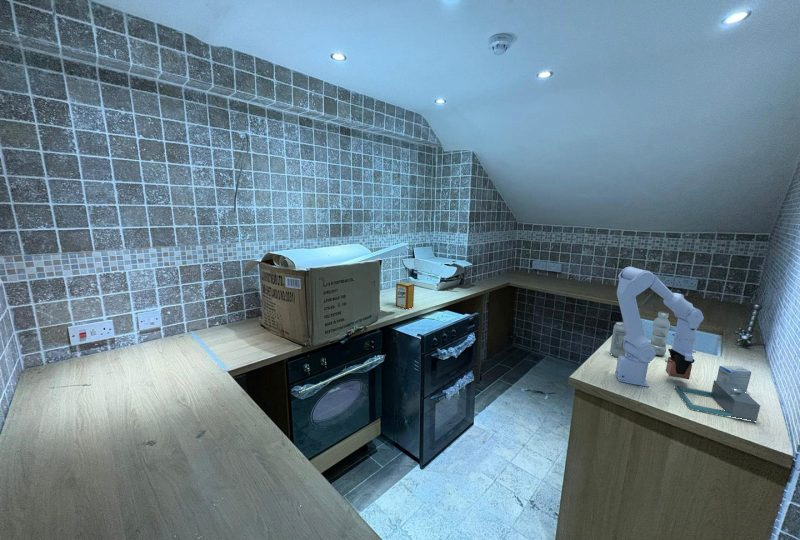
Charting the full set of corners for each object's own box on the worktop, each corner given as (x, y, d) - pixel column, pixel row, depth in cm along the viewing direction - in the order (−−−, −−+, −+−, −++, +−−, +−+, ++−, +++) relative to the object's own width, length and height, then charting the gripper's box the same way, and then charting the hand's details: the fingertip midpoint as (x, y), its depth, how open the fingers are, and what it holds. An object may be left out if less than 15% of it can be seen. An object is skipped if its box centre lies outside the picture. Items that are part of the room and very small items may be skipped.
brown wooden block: (665, 375, 126) (667, 360, 125) (661, 370, 130) (663, 356, 129) (689, 379, 124) (692, 364, 123) (684, 374, 128) (687, 359, 127)
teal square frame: (689, 409, 109) (693, 389, 108) (674, 389, 122) (677, 371, 121) (755, 423, 103) (761, 402, 102) (732, 400, 116) (736, 381, 114)
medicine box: (734, 386, 125) (739, 365, 123) (746, 393, 121) (752, 371, 119) (714, 386, 125) (718, 365, 123) (726, 393, 120) (731, 371, 119)
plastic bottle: (649, 355, 151) (656, 313, 147) (646, 350, 157) (653, 309, 153) (666, 358, 148) (674, 316, 144) (663, 353, 154) (670, 312, 150)
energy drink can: (624, 354, 151) (629, 323, 148) (625, 359, 146) (631, 327, 143) (609, 351, 154) (614, 320, 151) (609, 356, 149) (614, 324, 146)
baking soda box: (413, 307, 213) (414, 283, 210) (406, 309, 208) (407, 285, 206) (402, 304, 219) (402, 281, 217) (395, 306, 215) (396, 282, 212)
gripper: (706, 346, 116) (699, 382, 118) (689, 333, 129) (683, 365, 132) (681, 342, 119) (674, 377, 121) (667, 330, 132) (661, 361, 134)
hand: (677, 371), depth 126 cm, fingers closed on brown wooden block, 4 cm apart
